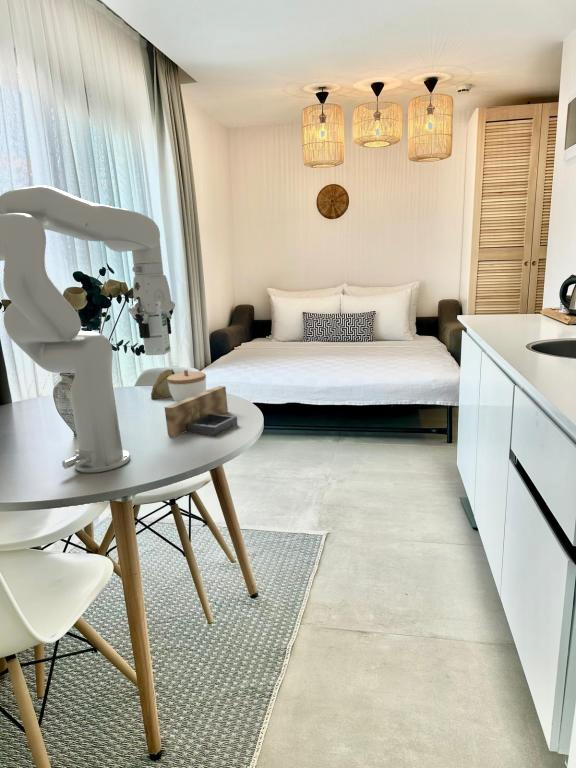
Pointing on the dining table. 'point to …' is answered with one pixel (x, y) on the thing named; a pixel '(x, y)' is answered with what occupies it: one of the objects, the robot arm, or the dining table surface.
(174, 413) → the board
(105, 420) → the robot arm
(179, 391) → the lidded bowl
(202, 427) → the tray
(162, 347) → the syrup box
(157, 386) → the rock
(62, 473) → the dining table surface
